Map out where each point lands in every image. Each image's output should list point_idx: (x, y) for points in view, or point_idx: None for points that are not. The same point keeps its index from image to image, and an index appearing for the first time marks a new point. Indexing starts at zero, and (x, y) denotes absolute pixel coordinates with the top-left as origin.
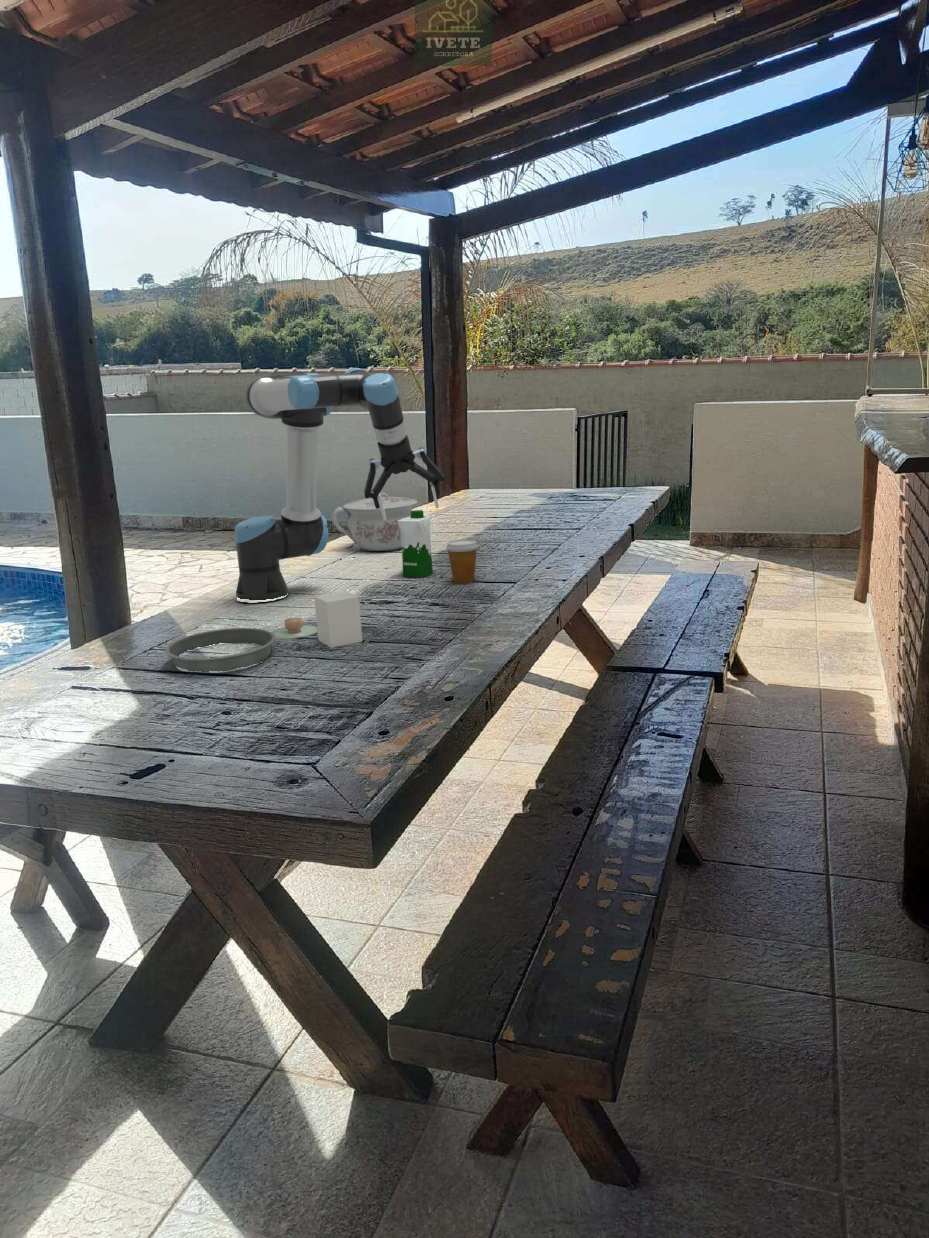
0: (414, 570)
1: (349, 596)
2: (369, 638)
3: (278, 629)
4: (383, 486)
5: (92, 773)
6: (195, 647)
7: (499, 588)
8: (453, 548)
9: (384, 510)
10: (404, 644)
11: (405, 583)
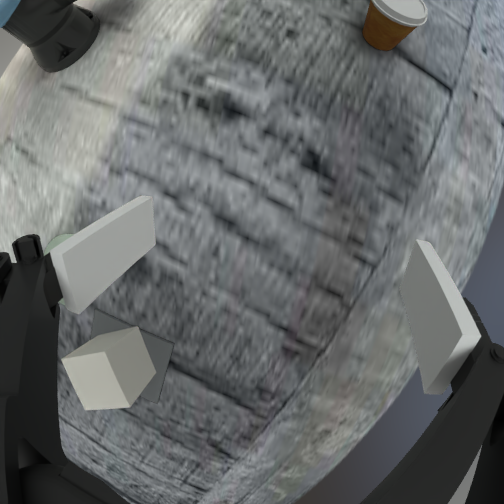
0: None
1: (114, 396)
2: (166, 359)
3: (49, 247)
4: (56, 377)
5: None
6: None
7: (429, 110)
8: (385, 10)
9: (137, 218)
10: (216, 395)
11: (282, 6)
